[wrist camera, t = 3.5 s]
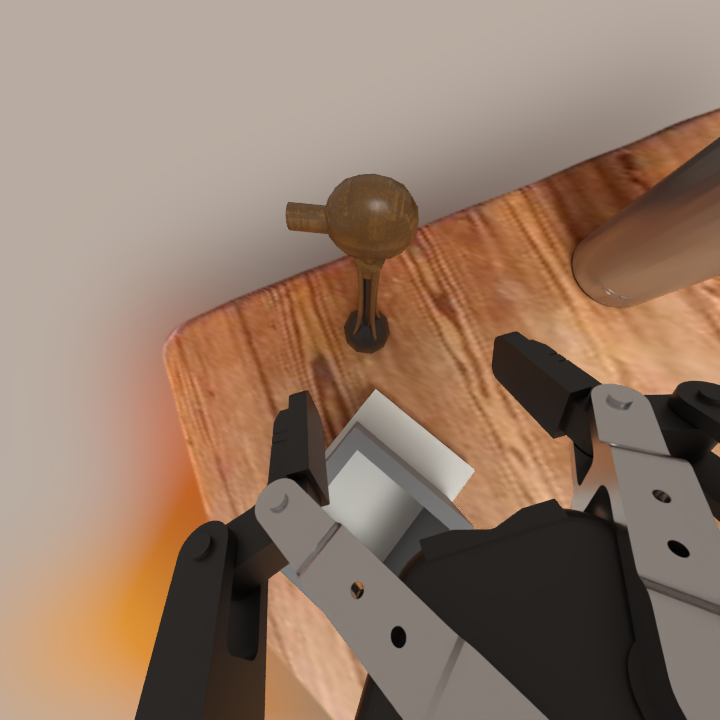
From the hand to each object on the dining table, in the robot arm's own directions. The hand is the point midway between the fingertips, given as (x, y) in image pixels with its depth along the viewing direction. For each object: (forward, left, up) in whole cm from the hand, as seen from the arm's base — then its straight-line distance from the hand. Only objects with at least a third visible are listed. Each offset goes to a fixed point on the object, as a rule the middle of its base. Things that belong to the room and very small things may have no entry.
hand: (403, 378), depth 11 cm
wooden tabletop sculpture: (-4, -6, -17) cm, 18 cm away
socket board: (+9, +5, -17) cm, 20 cm away
